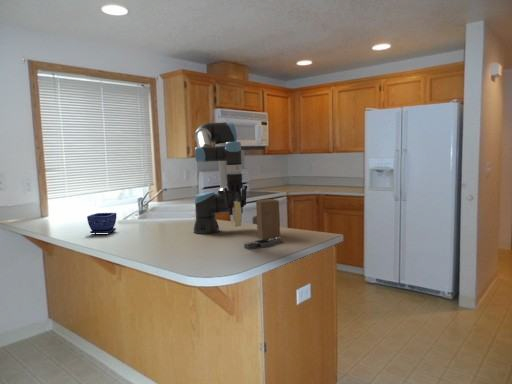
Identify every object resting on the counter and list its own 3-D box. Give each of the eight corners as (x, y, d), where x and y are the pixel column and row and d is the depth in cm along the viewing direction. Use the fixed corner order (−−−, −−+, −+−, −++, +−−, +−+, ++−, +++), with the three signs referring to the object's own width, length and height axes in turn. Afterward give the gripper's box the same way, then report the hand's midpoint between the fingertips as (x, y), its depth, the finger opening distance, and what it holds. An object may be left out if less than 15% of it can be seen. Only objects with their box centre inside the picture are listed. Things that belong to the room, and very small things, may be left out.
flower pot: (118, 231, 243) (117, 212, 242) (108, 235, 230) (107, 215, 229) (98, 231, 244) (97, 212, 243) (87, 235, 231) (85, 216, 230)
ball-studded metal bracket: (242, 247, 187) (241, 242, 187) (276, 240, 199) (275, 235, 199) (250, 250, 181) (250, 244, 181) (285, 243, 193) (285, 237, 193)
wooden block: (262, 239, 203) (261, 201, 201) (257, 235, 213) (255, 199, 211) (280, 237, 206) (279, 200, 204) (274, 234, 215) (273, 198, 213)
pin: (231, 225, 192) (230, 201, 191) (237, 224, 194) (236, 201, 193) (235, 226, 189) (234, 202, 188) (241, 225, 191) (240, 201, 190)
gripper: (223, 174, 181) (225, 224, 184) (252, 172, 190) (254, 219, 193) (215, 174, 187) (217, 221, 190) (244, 172, 196) (246, 217, 199)
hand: (236, 220), depth 191 cm, fingers closed on pin, 3 cm apart
